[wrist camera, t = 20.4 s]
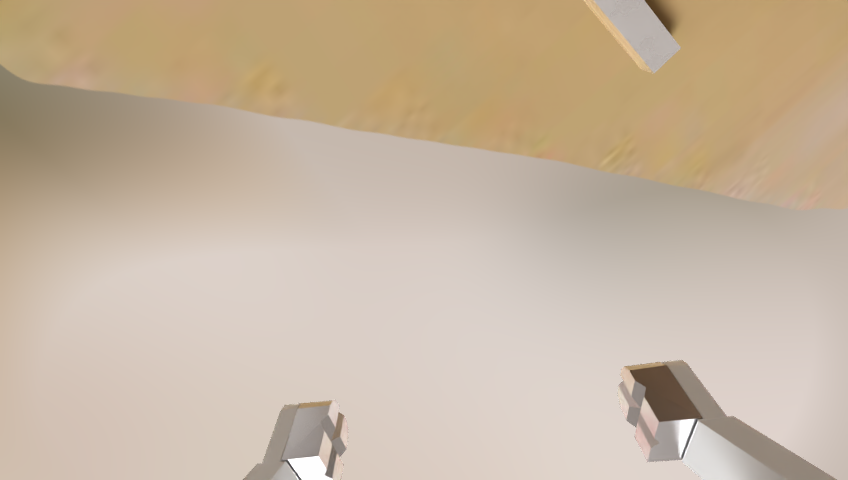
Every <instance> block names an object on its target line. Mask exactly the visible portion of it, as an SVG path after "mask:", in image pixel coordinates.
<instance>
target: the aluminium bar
mask: <svg viewBox="0 0 848 480" xmlns="http://www.w3.org/2000/svg"><path fill="white" fill-rule="evenodd" d="M583 1H584V2H585V3H586V5H587V6H588V7H589V8H590V9H591V11H592V12H593V13H594V14H595V15H596V17H597V18H598V19H599V20H600V21H601V22H602V24H603V25H604V26H605V27H606V28H607V30H608V31H609V32H610V33H611V34H612V36H613V37H614V38H615V39H616V40H617V41H618V43H619V44H620V45H621V46H622V47H623V49H624V50H625V51H626V52H627V53H628V55H629V56H630V57H631V58H632V59H633V60H634V62H635V63H636V64H637V65H638V66H639V68H640V69H641V70H644V71H648V72H651V73H655V72H656V71H657V70H658V69H659V68H660V67H661V66H662V65H663V64H665V63H666V62H667V61H668V60H669V59H670V58H671V57H672V56H673V55H674V54H675V53H676V52H677V51H678V50H679V49H680V48H681V47H680V46H679V45H678V44H677V42H676V41H675V40H674V38H673V37H672V36H671V34H670V33H669V32H668V31H667V29H666V28H665V27H664V25H663V24H662V23H661V21H660V20H659V19H658V17H657V16H656V15H655V14H654V12H653V11H652V10H651V8H650V7H649V6H648V4H647V3H646V2H645V0H583Z"/></svg>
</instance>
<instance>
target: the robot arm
mask: <svg viewBox="0 0 848 480" xmlns="http://www.w3.org/2000/svg"><path fill="white" fill-rule="evenodd" d="M620 376H621V378H622V379H623V382H621V383H620V384H619V385H618V392H617V394H618V400H619V404H620V407H621V410H622V412H623V414H624V416H625V418H626V420H627V421H628V422H629V423H631V424H632V425H634V426H635V427H636V432H635V439H636V441H637V442H638V445H639V446H640V448H641V450H642V452H643V454H644V456H645V458H646V460H647V462H654V461H669V460H682V462H683V463H684V464H685V465H686V466H687V467H689V468H690V469H691V470H692V471H693V472H694V473H695V474H697V475H698V476H699V477H700V478H701V479H702V480H837V479H835V478H833V477H832V476H830V475H828V474H827V473H825V472H824V471H822V470H820V469H819V468H817V467H815V466H814V465H812V464H811V463H809V462H807V461H806V460H804V459H802V458H801V457H799V456H797V455H796V454H794V453H793V452H791V451H789V450H788V449H786V448H785V447H783V446H781V445H780V444H778V443H776V442H775V441H773V440H771V439H770V438H768V437H767V436H765V435H763V434H762V433H760V432H758V431H757V430H755V429H754V428H752V427H750V426H749V425H747V424H745V423H744V422H742V421H741V420H739V419H737V418H736V417H734V416H728V417H727V416H726V414H725V413H724V412H723V411H722V409H721V408H720V407H719V405H718V404H717V403H716V401H715V400H714V399H713V397H712V396H711V395H710V393H709V392H708V391H707V390H706V388H705V387H704V385H703V384H702V383H701V381H700V380H699V379H698V377H697V376H696V375H695V374H694V372H693V371H692V370H691V368H690V367H689V366H688V364H687V363H686V362H684V361H683V360H675V361H668V362H655V363H648V364H640V365H632V366H625V367H623V368H622V369H621V374H620ZM347 442H348V426H347V421H346V418H345V416H344V415H342V414H341V413H339V404H338V403H337V401H336V400H331V401H320V402H310V403H299V404H290V405H285V406H284V407H283V409H282V410H281V411H280V414H279V417H278V419H277V422H276V425H275V428H274V431H273V434H272V437H271V439H270V442H269V445H268V448H267V451H266V454H265V456H264V459H263V462H262V463H260V464H257V465H256V466H255V467H254V468H253V469H252V470H251V471H250V472H249V474H248V475H247V476H246V477H245V478H244V479H243V480H341V477H342V472H343V466H344V465H343V463H342V461H341V459H340V456H341V455H342V454H343V453H344V451H345V450H346V448H347Z"/></svg>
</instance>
